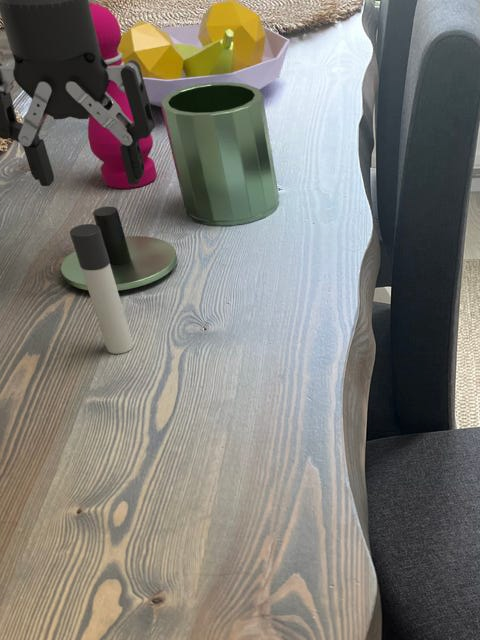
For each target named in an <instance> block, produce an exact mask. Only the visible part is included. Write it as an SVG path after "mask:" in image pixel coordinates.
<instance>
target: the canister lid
mask: <svg viewBox="0 0 480 640" xmlns="http://www.w3.org/2000/svg"><path fill="white" fill-rule="evenodd" d="M92 215H93V220H94V222H95V225H97V226H99V227H100V230H101V233H102V237H103V240H104V244H105V247H106V250H107V254H108V257H109V261H110V262H109V263H110V266H111V270H112V273H113V276H114V280H115V283H116V287H117V290H118V291H124V290H125V291H126V290H131V289H134V288H138V287H142V286H145V285H148V284H151V283H153V282H155V281H158V280H160V279H161V278H163V277H164V276H166V275H168V274H169V273H171V272H172V270H174V268H175V267H176V265H177V263H178V254H177V251H176V248H175V247H174V246H173V245H172V244H171V243H169V242H168V241H167V240H166V241H165V240H163V239H161V238H156V237H152V236H142V235H130V236H129V235H128V236H125V231H124V229H123V225H122V221H121V217H120V214H119V210H118V208H117V207H115V206H102V207H101V206H100V207H99V208H96V209H94V210H93V212H92ZM60 272H61V274H62V278H63V279H64V281H65V282H66V283H68V284H69V285H70V286H72V287H74V288H77V289H81V290H84V291H89V290H88V287H87V284H86V281H85V278H84V275H83V271H82V268H81V267H80V264H79V261H78V257H77V254H76V251H75V250H74V251H73V252H72V253H70V254H68V256H66V257H65V259H64V260H63V262H62V263H61V267H60Z"/></svg>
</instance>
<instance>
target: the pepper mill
mask: <svg viewBox="0 0 480 640" xmlns="http://www.w3.org/2000/svg"><path fill="white" fill-rule="evenodd" d="M88 1H89V6H90V10H91V14H92V18H93V22H94V27H95V31H96V35H97V39H98V43H99V48H100V53H101V56H102V58H103V60H104V61H105V63H106V64H107V65H108V66H116V65H124V62H123V61H122V54H121V52H119V51H117V49H118V46H119V44H120V41H121V36H122V31H121V28H120V24H119V22H118V20H117V17H116V16H115V15H114V14H113V12H112V11H111V10H109V9H108V8H107V7H105V6H103V5H102V4H97V3H94V2H93V0H88ZM106 92H107V93H108V94H109V95H110V96H111V97H112V98H113V99H114V101H115V102H116V103H117V104H118V105H119V106H120V108H121V110H122V112H123V113H124V114H125V115H126V116H127V117H128V118H129V119H130V121H131V122H132V123H134V120H133V117H132V113H131V110H130V106H129V103H128V99H127V96H126V93H124V92H122V91H120V90H119V88H118V86H117V84H116V83H115V82H114V81H112V80H110V82H109V85H108V87H107V90H106ZM87 136H88V137H87V138H88V142H89V147H90V150H91V152H92V154H93V155H94V156H95V157H96V158H97V159H98V160H100V161H101V162H102V165H101V166H100V171H101V175H102V179H103V182H104V183H105V185H106V186H108V187H110V188H113V189H122V190H126V189H135V188H140V187H143V186H147V185H149V184H151V183H153V182H154V181H155V180H156V179H157V177H158V176H157V175H158V174H157V169H156V166H155V162H154V160H153V159H152V158H151V157H149V155H150V153H151V152H152V149H153V146H154V139H153V136H152V132H151V133H150V135H149V136H148V137H147V138H142V139H140V140H139V144H140V149H141V153H142V158H143V162H144V166H145V170H144V174H143V176H142V178H141V179H140V181H139V183H138V184H137V185H129V183H128V179H127V175H126V171H125V167H124V163H123V159H122V155H121V150H120V145H121V144H122V143H121V142H120V141H119V140H118V139H117V138H116V137H115V136H114V135H113V134H112V133H111V132H110V130H109V129H107V128H105V127H103V126H102V125H101V124H100V123H99V122H98V121H97V120H96V119H95V118H94V117H93V116H90V117H89V118H88V124H87Z"/></svg>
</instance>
